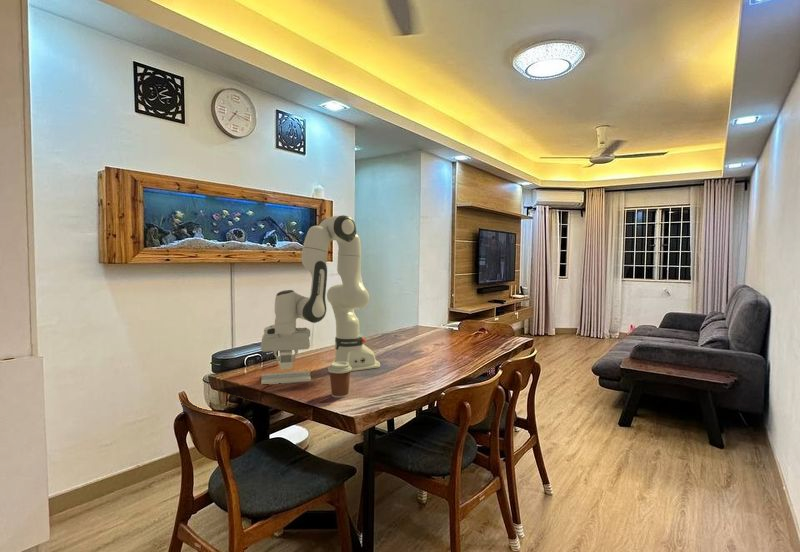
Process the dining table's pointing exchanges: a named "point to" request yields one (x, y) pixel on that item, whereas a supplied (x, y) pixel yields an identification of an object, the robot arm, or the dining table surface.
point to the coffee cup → (340, 378)
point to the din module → (286, 359)
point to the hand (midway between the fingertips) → (285, 360)
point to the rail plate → (285, 377)
